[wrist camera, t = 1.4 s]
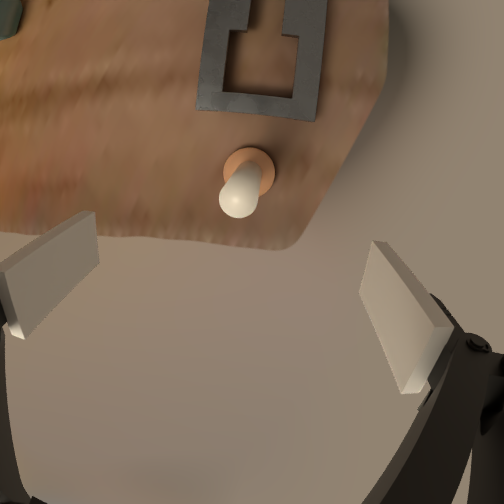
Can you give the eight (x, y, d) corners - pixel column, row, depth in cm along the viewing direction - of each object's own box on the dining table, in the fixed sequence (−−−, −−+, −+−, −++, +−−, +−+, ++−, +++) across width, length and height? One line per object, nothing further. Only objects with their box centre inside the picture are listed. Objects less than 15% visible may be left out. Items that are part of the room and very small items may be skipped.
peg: (227, 144, 36) (202, 157, 23) (277, 150, 36) (282, 165, 23) (222, 193, 38) (198, 231, 25) (271, 198, 38) (271, 240, 25)
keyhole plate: (224, -52, 25) (221, -63, 22) (326, -43, 24) (330, -53, 22) (201, 110, 34) (195, 109, 31) (311, 121, 34) (314, 121, 31)
